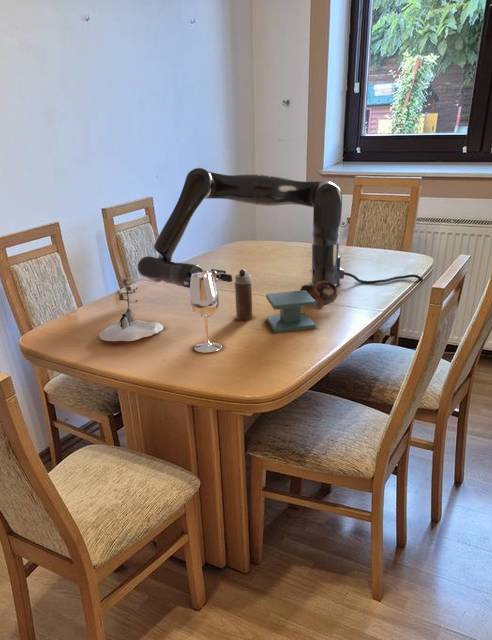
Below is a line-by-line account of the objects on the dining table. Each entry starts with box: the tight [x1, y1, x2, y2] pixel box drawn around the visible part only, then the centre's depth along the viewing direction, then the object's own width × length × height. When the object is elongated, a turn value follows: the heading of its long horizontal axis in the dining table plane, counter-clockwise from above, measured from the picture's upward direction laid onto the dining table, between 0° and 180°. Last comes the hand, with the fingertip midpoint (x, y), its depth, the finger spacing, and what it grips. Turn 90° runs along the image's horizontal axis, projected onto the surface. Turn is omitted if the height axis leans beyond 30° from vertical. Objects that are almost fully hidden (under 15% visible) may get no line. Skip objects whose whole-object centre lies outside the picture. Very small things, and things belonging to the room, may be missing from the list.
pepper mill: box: [234, 269, 254, 322], centre depth 176 cm, size 5×5×15 cm
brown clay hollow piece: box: [299, 281, 338, 309], centre depth 185 cm, size 12×10×8 cm
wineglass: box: [188, 272, 222, 354], centre depth 155 cm, size 8×8×20 cm
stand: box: [265, 290, 317, 334], centre depth 170 cm, size 12×12×8 cm
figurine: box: [98, 277, 164, 342], centre depth 169 cm, size 20×18×16 cm
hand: (222, 281), depth 180 cm, fingers open, 8 cm apart
